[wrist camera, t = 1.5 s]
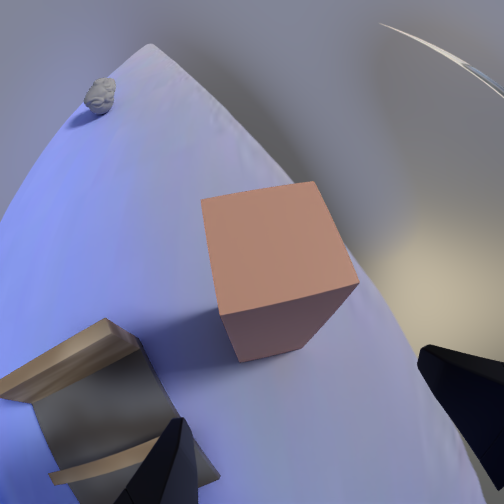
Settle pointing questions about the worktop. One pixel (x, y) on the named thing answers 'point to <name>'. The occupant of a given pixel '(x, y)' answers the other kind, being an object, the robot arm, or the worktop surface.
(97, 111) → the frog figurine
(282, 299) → the cabinet block
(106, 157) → the worktop surface
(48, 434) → the cleat board
